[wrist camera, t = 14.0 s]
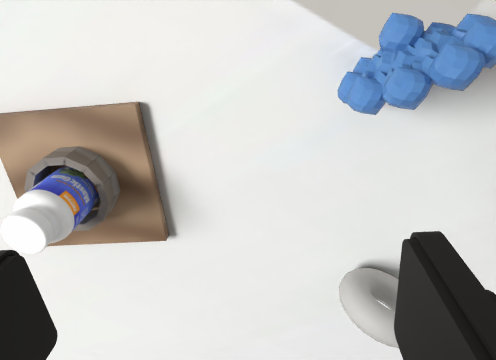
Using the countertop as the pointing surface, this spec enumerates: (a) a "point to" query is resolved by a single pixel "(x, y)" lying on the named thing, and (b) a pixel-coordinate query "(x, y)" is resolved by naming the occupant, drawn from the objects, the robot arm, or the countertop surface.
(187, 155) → the countertop surface
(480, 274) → the countertop surface
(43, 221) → the pill bottle
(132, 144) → the base
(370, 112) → the grapes
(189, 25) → the countertop surface
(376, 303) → the donut
